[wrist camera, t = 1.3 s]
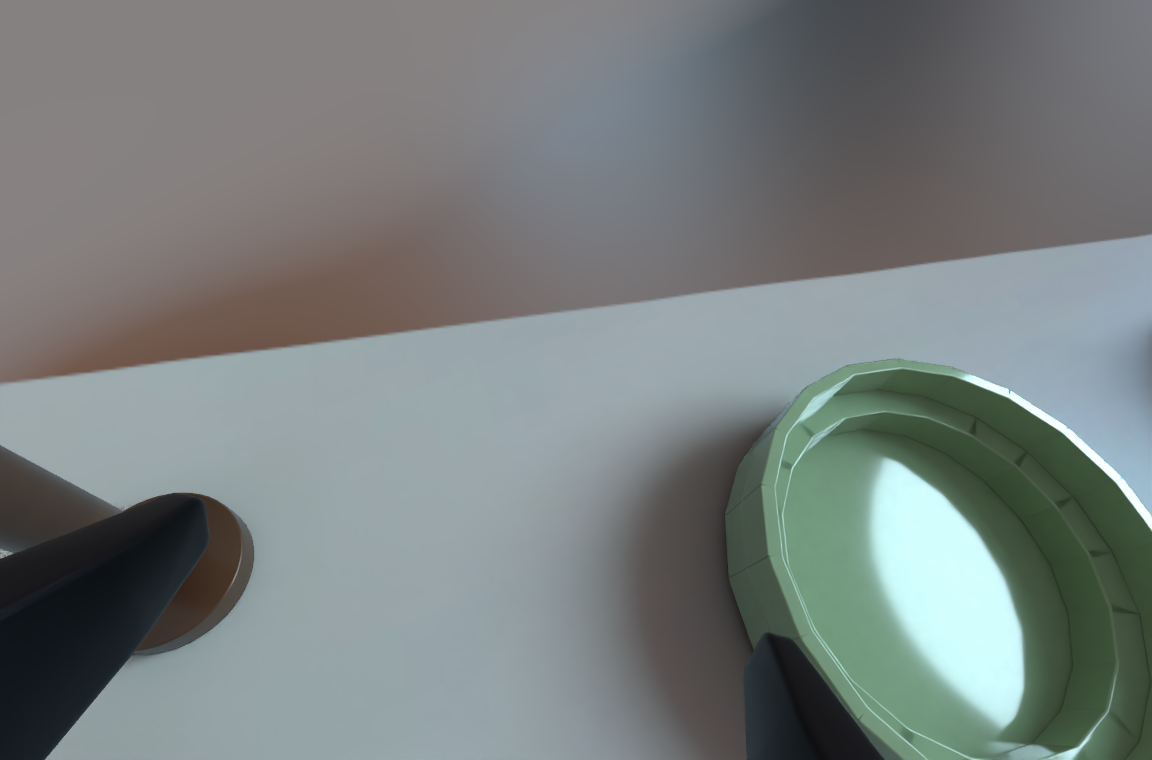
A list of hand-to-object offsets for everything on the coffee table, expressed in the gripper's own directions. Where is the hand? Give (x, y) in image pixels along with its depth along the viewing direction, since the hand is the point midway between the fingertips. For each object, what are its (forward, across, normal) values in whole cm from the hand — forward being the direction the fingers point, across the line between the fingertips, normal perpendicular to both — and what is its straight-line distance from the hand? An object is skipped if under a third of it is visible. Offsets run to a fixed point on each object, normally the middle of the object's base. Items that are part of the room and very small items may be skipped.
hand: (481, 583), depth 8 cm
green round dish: (+13, -17, +8) cm, 23 cm away
